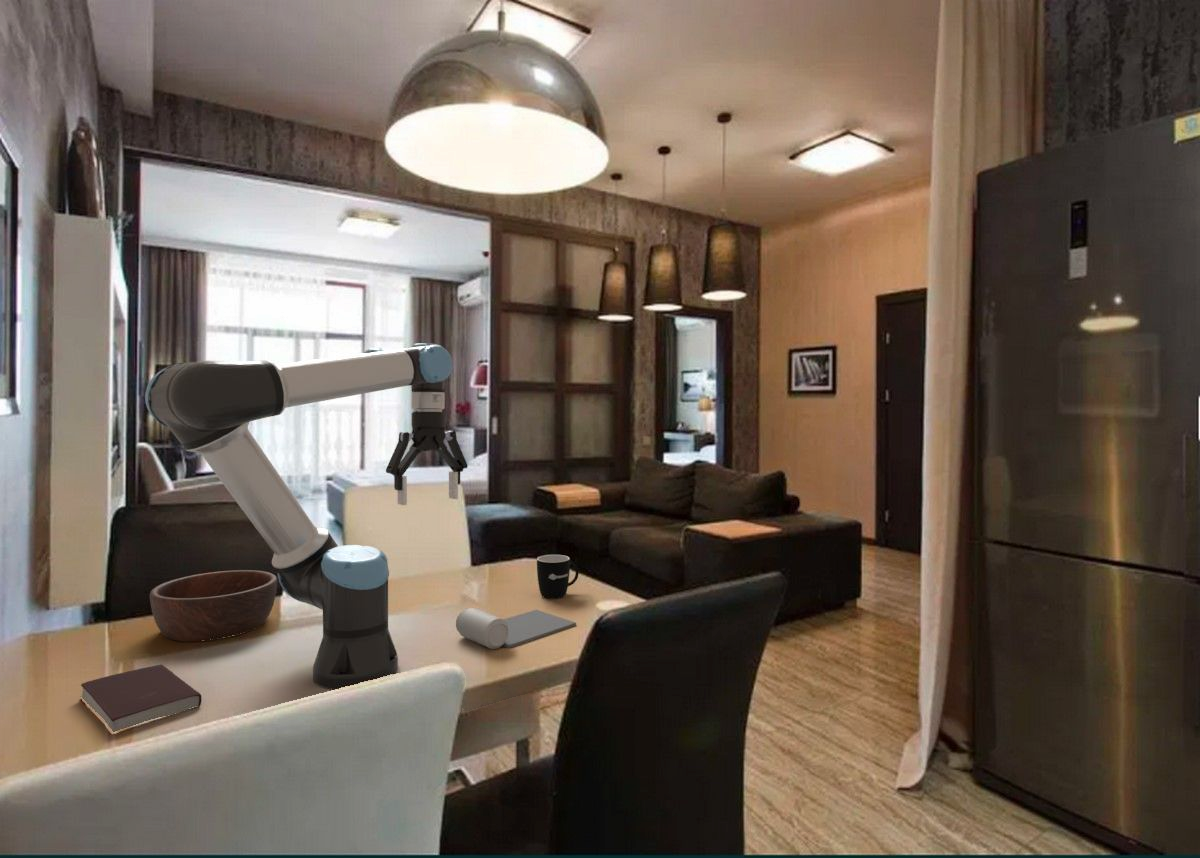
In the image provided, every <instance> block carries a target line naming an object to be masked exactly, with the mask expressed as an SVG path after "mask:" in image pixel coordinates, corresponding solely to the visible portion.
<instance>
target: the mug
mask: <svg viewBox="0 0 1200 858" xmlns="http://www.w3.org/2000/svg"><path fill="white" fill-rule="evenodd" d="M571 566H572V567H573V568H574V570H575V575H574V577H573V579H572V580H571V581H569V580H570V569H571V568H570V567H571ZM536 573H537V585H538V588H539V589H538V590H539V593H540V595H541V596H542V597H543V596H544V597H543V598H545V597H548V598H547V599H550V598H555V599H560V598H559V597H561V598H564V597H565V596H564V595H566V594H567V591H568V589H569V588H568V587H570V586H572V585H574V584H575V583H576V581H577V580H578V578H579V573H580V572H579V568H578V566H577V565H576V564H575V563H573V562H571V558H570V557H569V556H567V555H562V554H546V555H545V554H544V555H540V556H537V558H536ZM563 596H564V597H563Z"/></svg>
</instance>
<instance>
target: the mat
mask: <svg viewBox="0 0 1200 858" xmlns="http://www.w3.org/2000/svg"><path fill="white" fill-rule="evenodd" d="M503 619H504V620H505V621H506V622H507V624H508V627H509V634H508V637H507V640H506V641H505V643H504V644H503V645H502V646H501V647H505V648H508V649H510V647H511V648H513V647H516V646H519V645H522V644H525V643H528V642H530V640H531V641H534V640H537V639H539V637H540V638H542V636H543V637H546V636H549V635H552V634H554V633H557V632H559V631H563V630H566V629H569V628H571V626H572V627H575V626H577V622H576V621H572V620H569V619H566V618H563V617H560V616H557V615H554V614H551V613H548V612H545V611H541V610H539V609H534V610H531V611H527V612H523V613H521V614H520V613H519V614H518V615H517V614H516V615H514V616H510V617H507V618H503ZM574 625H575V626H574ZM568 627H569V628H568ZM551 633H552V634H551ZM548 634H549V635H548ZM545 635H546V636H545ZM536 638H537V639H536ZM533 639H534V640H533ZM527 641H528V642H527ZM524 642H525V643H524Z"/></svg>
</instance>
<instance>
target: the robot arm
mask: <svg viewBox="0 0 1200 858" xmlns="http://www.w3.org/2000/svg"><path fill="white" fill-rule="evenodd" d="M452 369H453V360H452V357H451V354H450V353H449V351H448V350H447V349H446V348H445V347H443V346H442V345H440V344H435V343H414V344H413V345H411V347H404V348H403V347H401V348H394V349H393V348H392V349H391V348H390V349H387V348H382V347H379V348H368V349H367V350H365V351H364V352H363V353H359V354H351V355H350V354H349V355H343V356H334V357H328V358H327V357H326V358H319V359H311V360H304V361H303V360H302V361H296V362H287V363H278V364H275V363H274V362H273V361H272V360H269V359H262V360H254V361H253V360H252V361H230V360H228V361H226V360H225V361H224V360H200V361H193V362H185V361H184V362H178V363H175V364H173V365H169V366H167V367H165V368H163V369H161V370H159V371H158V372H157V373H155V374H154V375H153V376H152V378H151V379H150V380H149V382H148V384H147V386H146V390H145V393H144V400H145V401H144V402H145V405H146V408H147V411H148V412H149V414H150V415H151V417H152V418H153V419H154V420H155V421H156V422H158V424H160V425H161V426H163V427H165V428H167V429H169V430H170V431H171V433H172V434H173V435H174V436H175V438H176V439H177V440H178V442H179V443H180V444H181V445H182V447H183V448H184V449H185V451H187V452H190V453H191V452H192V453H197V454H200V455H201V456H202V457H203V459H204V460H205V462H206V463H207V465H208V466H209V467H210V468H211V470H212V471H213V472H214V474H215V475H216V476H217V478H218V479H219V480H220V482H221V484H223V485H224V487H225V488H226V490H227V491H228V493H229V494H230V495H231V496H232V498H233V499H234V501H235V502H236V503H237V505H238V506H239V508H240V509H241V510H242V511H243V513H244V515H246V517H247V518H248V519H249V520H250V523H252V525H253V526H254V527H255V529H256V531H258V533H259V534H260V535H261V537H262V539H264V541H265V542H266V544H267V545H268V546H269V548H270V549H271V551H272V552H273V556H272V559H271V564H272V567H273V568H274V569H275V571H276V572H277V580H278V583H279V584H280V587H281V589H282V590H284V592H285V593H286V594H287V595H288V596H290V597H291V598H292V599H294V600H295V601H298V602H300V603H304V604H308V605H310V606H313V607H315V608H318V609H320V610H322V639H321V642H320V644H319V648H318V650H317V653H316V657H315V660H314V662H313V666H312V681H313V682H314V683H315V684H316V685H317V686H319V687H322V688H326V689H331V688H332V689H333V690H338V689H337V688H341V687H345V686H350V685H354V684H358V683H360V682H364V681H368V680H373V679H377V678H380V677H383V676H387V675H390V674H393V675H394V673H395V674H396V673H397V672H398V669H399V656H398V653H397V650H396V647H395V644H394V641H393V638H392V636H391V634H390V630H389V576H390V570H389V565H388V563H389V561H388V557H387V555H386V554H385V553H384V551H382V550H381V549H380V548H376V547H373V546H369V545H361V544H347V545H345V544H344V545H340V546H339V545H338V543H337V542H336V541H335V539H334V538H333V536H332V535H331V533H330V532H329V531H328V529H327V528H324V527H316V526H315V525H314V524H313V522H312V520H311V518H310V517H309V516H308V515H307V513H306V512H305V510H304V509H303V507H302V505H301V504H300V502H298V500H297V498H296V497H295V495H294V494H293V493H292V490H291V489H290V488H289V486H288V485H287V484H286V483H285V481H284V480H283V478H282V477H281V475H280V474H279V472H278V471H277V470H276V468H275V467H274V465H273V464H272V463H271V461H270V460H269V457H267V455H266V454H265V452H264V450H263V449H262V448H261V446H260V445H259V443H258V441H256V439H255V437H254V436H253V434H252V433H251V432H250V431H249V430H250V429H249V424H250V422H254V421H257V420H261V419H266V418H271V417H275V416H280V415H282V413H284V411H285V410H286V408H291V407H297V406H303V405H307V404H315V403H319V402H326V401H330V400H335V399H340V398H348V397H352V396H357V395H358V396H359V395H363V394H369V393H374V392H379V391H385V390H391V389H396V388H397V389H398V388H401V387H407V386H409V387H411V403H410V404H411V409H412V410H413V411H412V412H411V428H412V431H411V432H408V431H400V432H399V433H398V434H399V435H398V441H397V444H396V447H395V449H394V451H393V453H392V455H391V457H390V459H389V462H388V465H387V466H386V469H385V472H386V474H390V475H392V476H393V479H394V480H393V484H394V485H393V486H394V490H395V491H397V505H400V506H408V505H407V504H408V499H407V497H408V496H407V495H408V494H407V493H408V491H407V490H408V489H407V488H408V487H407V485H408V483H407V481H408V480H407V478H408V477H407V475H405V472H407V470H408V469H409V468H410V466H411V465H412V463H413V462H414V461H415V460H416V458H417V456H418V455H419V454H421V452H428V451H435V452H438V454H439V455H440V456H441V458H442V459H443V461H444V462H445V463H446V464H447V465H448V467H449V468H450V469H451V471H448V499H453V500H458V499H459V485H460V484H461V472H463V471H464V470H465V469H467V468H468V463H467V460H466V458H465V456H464V453H463V452H462V449H461V447H460V445H459V444H460V443H459V441H458V440H457V438H458V437H457V432H456V431H455V430H447V431H445V426H446V413H445V412H444V411H443V410H444V409H445V403H446V402H445V401H446V400H445V399H446V395H445V394H446V393H445V390H446V387H445V386H446V381H445V380H446V379H448V378H449V376H450V374H452V371H453V370H452ZM444 440H445V441H446V442H447V445H448V447H449V449H450V451H451V452H450V451H449V450H448V447H447V445H446V443H444ZM410 441H412V442H413V443H412V444H411V445H410V446H409V448H408V445H409V443H410ZM407 449H408V451H407V452H406V450H407ZM405 452H406V453H405Z"/></svg>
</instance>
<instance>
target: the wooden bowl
mask: <svg viewBox="0 0 1200 858" xmlns="http://www.w3.org/2000/svg"><path fill="white" fill-rule="evenodd" d="M277 587H278V576H276V575H275V574H273V573H271V572H268V571H264V570H252V569H249V570H248V569H245V570H244V569H238V570H236V569H235V570H223V571H222V570H221V571H214V572H206V573H198V574H192V575H188V576H184V577H180V578H176V579H172V580H169V581H165V582H163V583H161V584H158V585H157V586H155V587H154V588H152V589H151V591H150V592H149V602H150V608H151V613H152V616H153V619H154V622H155V624H156V627H157V628H158V630H159V631H160V633H161V634H162V635H163V636H164V637H166V638H167V639H168V640H171V639H172V640H171V641H175V640H178V641H177V642H182V641H199V642H203V641H202V640H210V639H211V640H210V641H213V640H212V639H217V638H223V637H228V636H232V635H236V636H238V635H237V634H240V633H243V632H246V633H247V631H249V632H251V631H253V630H255V629H254V628H256V629H257V628H259V627H260V626H262V625H263V624H264V623H265V622H267V621H266V620H267V619H268V618H269V616H270V614H271V612H272V609H273V607H274V603H275V599H276V594H277ZM258 626H259V627H258ZM252 629H253V630H252ZM250 630H251V631H250ZM243 634H244V633H243ZM240 635H241V634H240ZM232 637H233V636H232ZM228 638H229V637H228ZM223 639H224V638H223ZM217 640H218V639H217Z"/></svg>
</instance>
